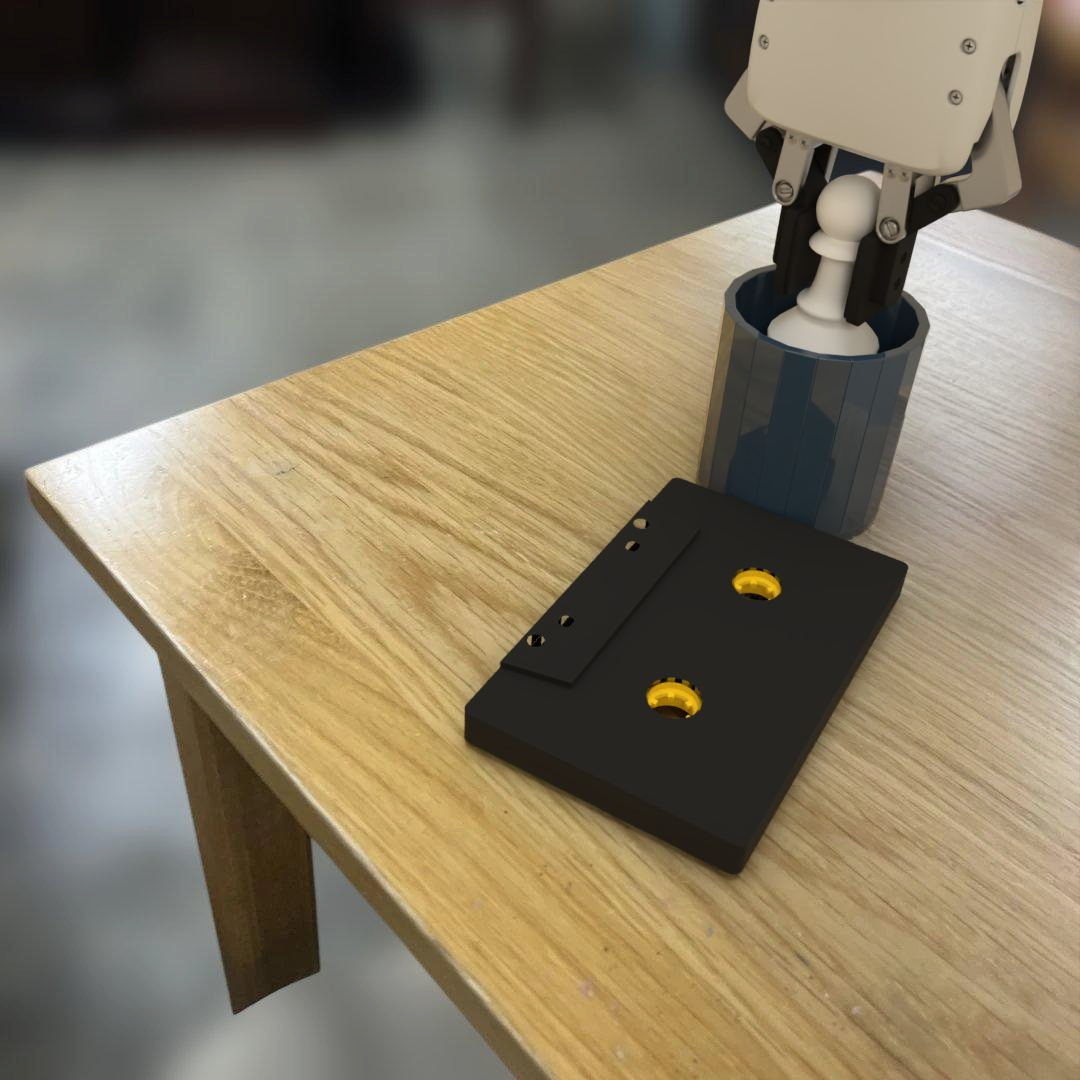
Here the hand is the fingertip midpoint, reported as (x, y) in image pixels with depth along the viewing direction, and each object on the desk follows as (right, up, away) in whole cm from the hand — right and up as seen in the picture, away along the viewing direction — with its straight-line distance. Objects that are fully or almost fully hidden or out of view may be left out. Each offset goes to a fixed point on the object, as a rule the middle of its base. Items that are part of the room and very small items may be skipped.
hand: (831, 295), depth 54 cm
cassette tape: (-6, -16, -3) cm, 18 cm away
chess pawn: (0, -3, +2) cm, 4 cm away
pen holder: (-1, -8, +7) cm, 11 cm away
